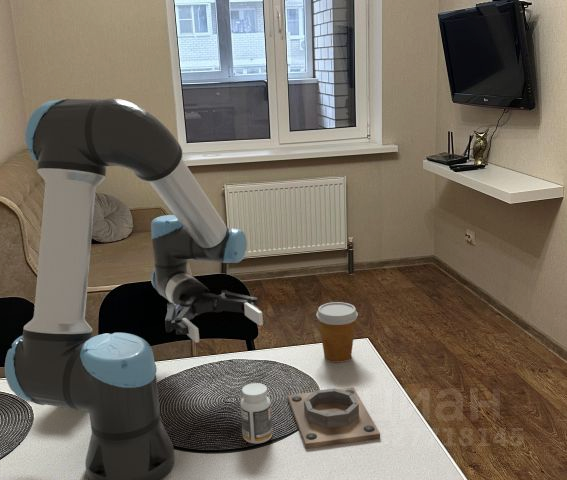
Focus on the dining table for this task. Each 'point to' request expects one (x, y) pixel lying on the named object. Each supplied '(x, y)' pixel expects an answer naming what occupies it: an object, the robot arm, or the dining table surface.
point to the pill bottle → (256, 413)
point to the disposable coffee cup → (337, 330)
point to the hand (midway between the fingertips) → (229, 327)
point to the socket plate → (332, 417)
